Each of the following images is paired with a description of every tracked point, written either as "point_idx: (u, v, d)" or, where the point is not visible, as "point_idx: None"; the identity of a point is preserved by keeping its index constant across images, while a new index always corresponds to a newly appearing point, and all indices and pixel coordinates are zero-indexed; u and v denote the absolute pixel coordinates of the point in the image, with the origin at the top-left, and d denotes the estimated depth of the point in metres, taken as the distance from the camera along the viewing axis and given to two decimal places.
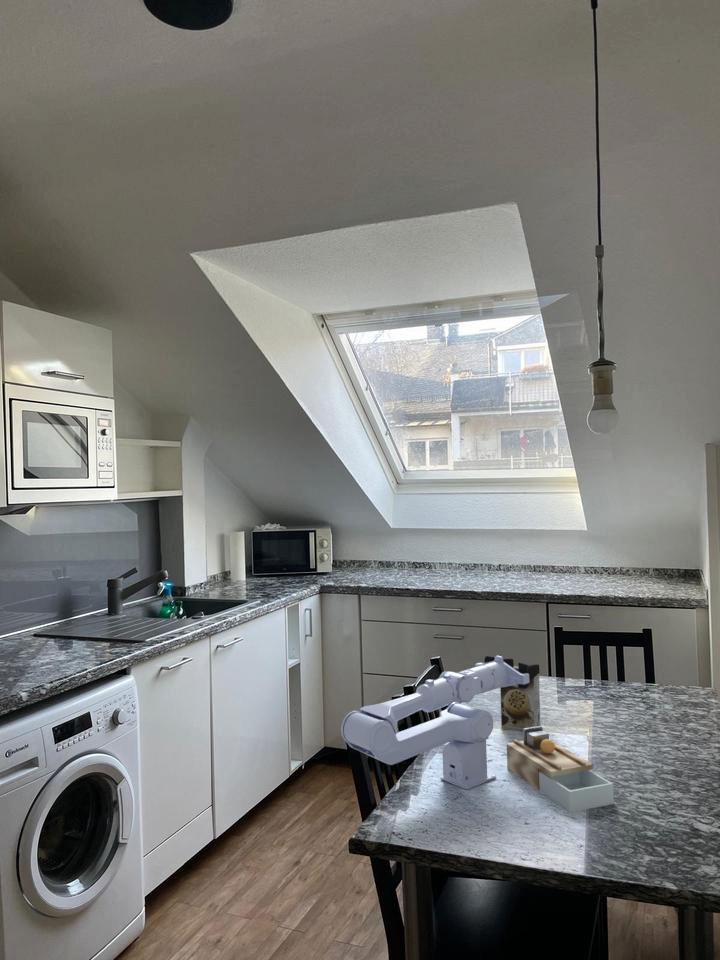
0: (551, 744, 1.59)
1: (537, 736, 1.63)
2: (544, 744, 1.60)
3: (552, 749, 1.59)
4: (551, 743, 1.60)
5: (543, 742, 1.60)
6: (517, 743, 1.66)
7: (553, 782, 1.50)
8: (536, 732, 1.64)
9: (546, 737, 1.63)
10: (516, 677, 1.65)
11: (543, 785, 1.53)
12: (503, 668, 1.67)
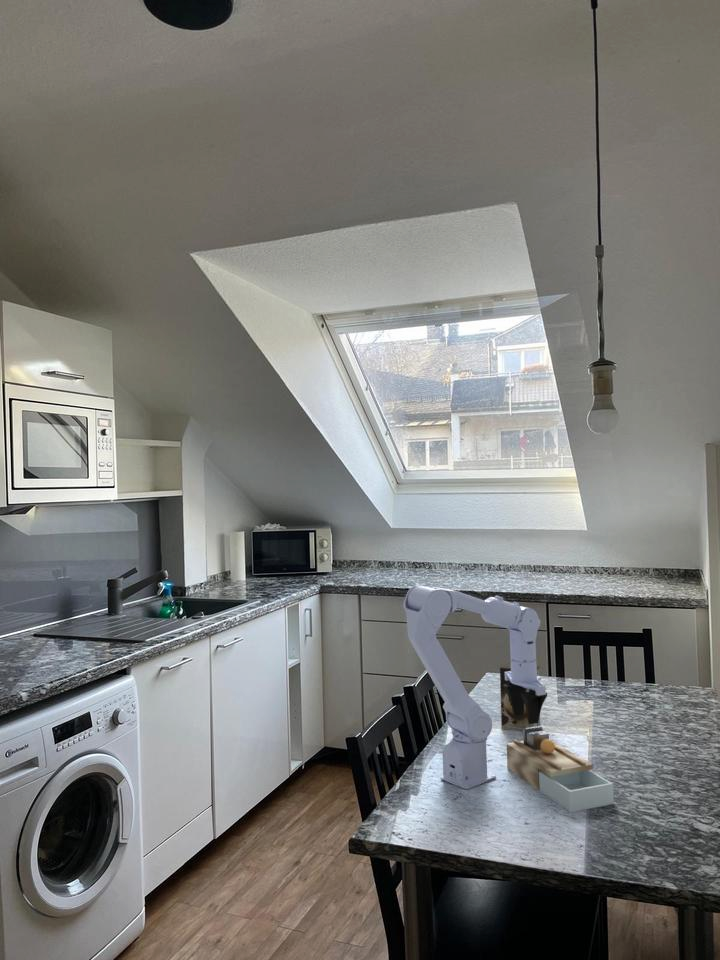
0: (551, 744, 1.59)
1: (537, 736, 1.63)
2: (544, 744, 1.60)
3: (552, 749, 1.59)
4: (551, 743, 1.60)
5: (543, 742, 1.60)
6: (517, 743, 1.66)
7: (553, 782, 1.50)
8: (536, 732, 1.64)
9: (546, 737, 1.63)
10: None
11: (543, 785, 1.53)
12: (536, 676, 1.68)
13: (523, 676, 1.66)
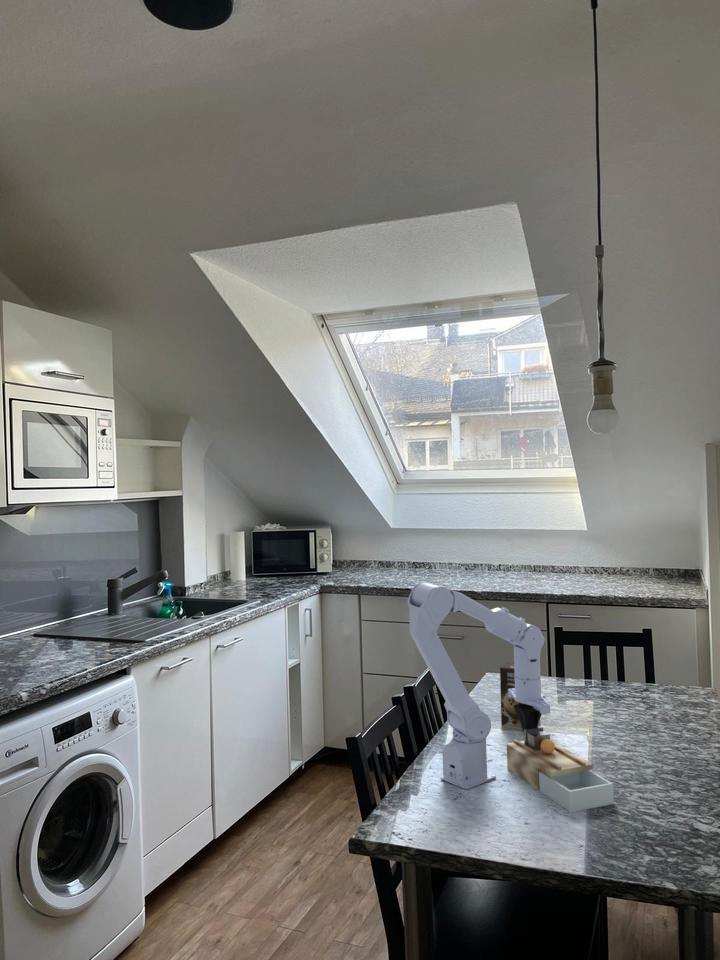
0: (551, 744, 1.59)
1: (538, 737, 1.62)
2: (544, 744, 1.60)
3: (552, 749, 1.59)
4: (551, 743, 1.60)
5: (543, 742, 1.60)
6: (517, 743, 1.66)
7: (553, 782, 1.50)
8: (537, 733, 1.64)
9: (547, 738, 1.63)
10: (541, 703, 1.63)
11: (543, 785, 1.53)
12: (540, 694, 1.66)
13: (527, 694, 1.65)
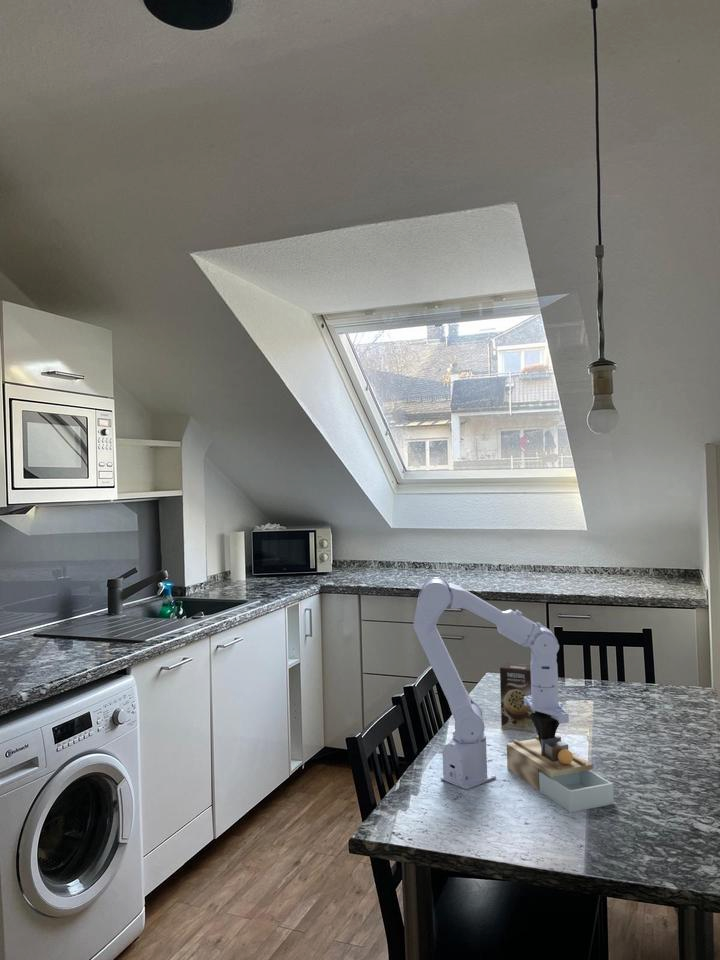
0: None
1: (555, 747, 1.56)
2: (558, 754, 1.55)
3: (565, 749, 1.54)
4: None
5: None
6: (517, 743, 1.66)
7: (553, 782, 1.50)
8: (555, 743, 1.57)
9: (565, 748, 1.56)
10: None
11: (543, 785, 1.53)
12: (558, 702, 1.59)
13: (544, 702, 1.58)
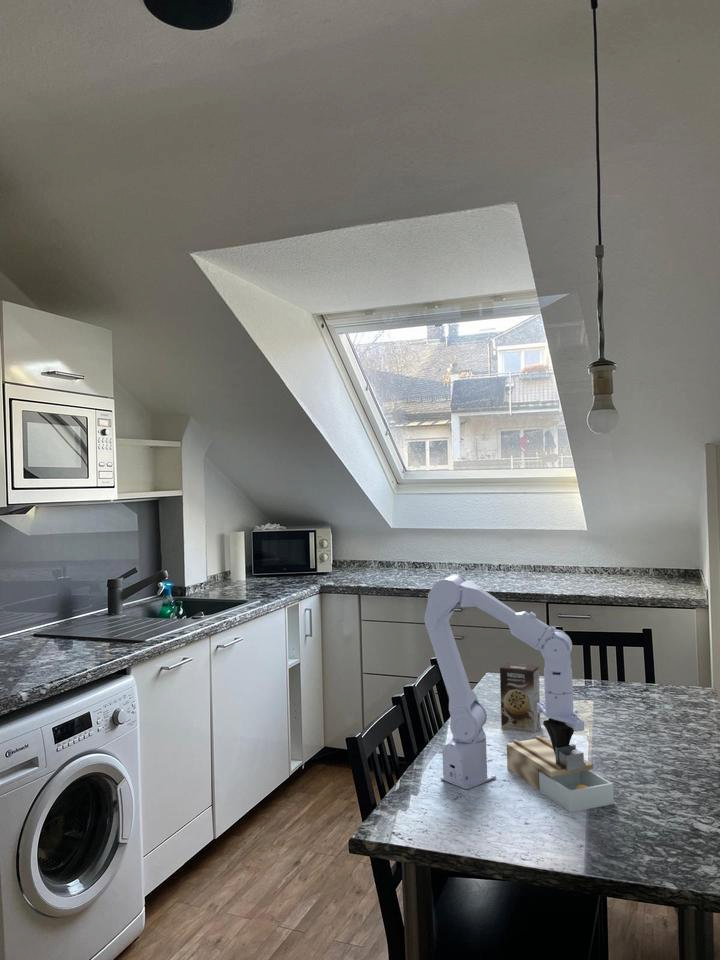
0: None
1: (570, 756, 1.51)
2: None
3: None
4: None
5: None
6: (517, 743, 1.66)
7: (553, 782, 1.50)
8: (570, 751, 1.52)
9: (580, 756, 1.51)
10: (574, 719, 1.51)
11: (543, 785, 1.53)
12: (572, 709, 1.54)
13: (559, 709, 1.53)
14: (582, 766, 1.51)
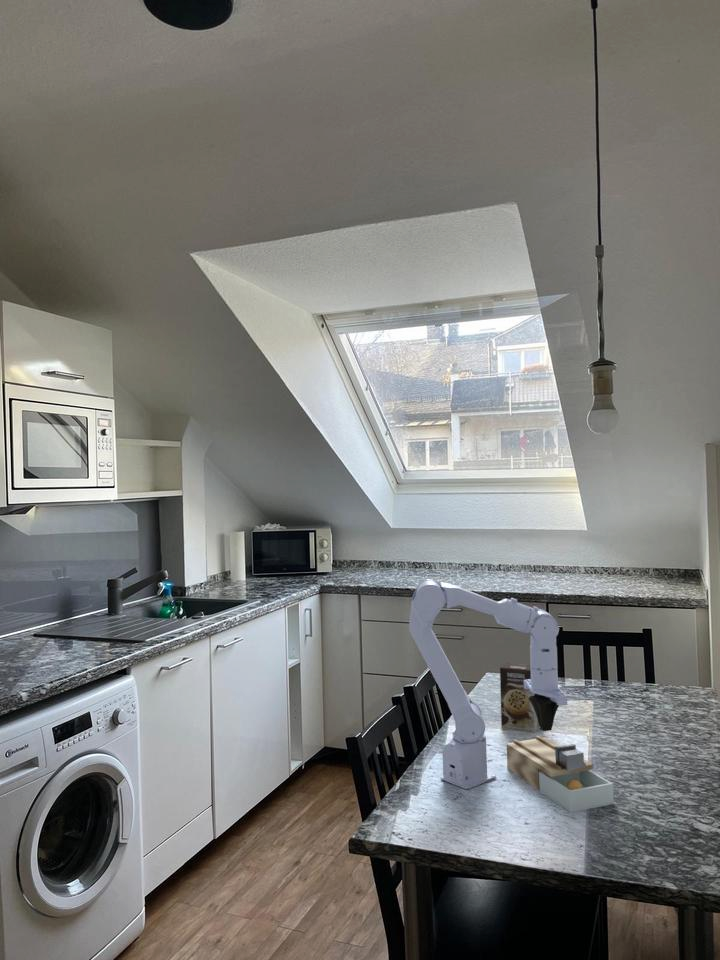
0: None
1: (570, 756, 1.51)
2: (572, 789, 1.50)
3: None
4: None
5: (572, 786, 1.50)
6: (517, 743, 1.66)
7: (553, 782, 1.50)
8: (570, 751, 1.52)
9: (580, 756, 1.51)
10: (558, 694, 1.57)
11: (543, 785, 1.53)
12: (557, 685, 1.60)
13: (544, 685, 1.59)
14: (582, 766, 1.51)
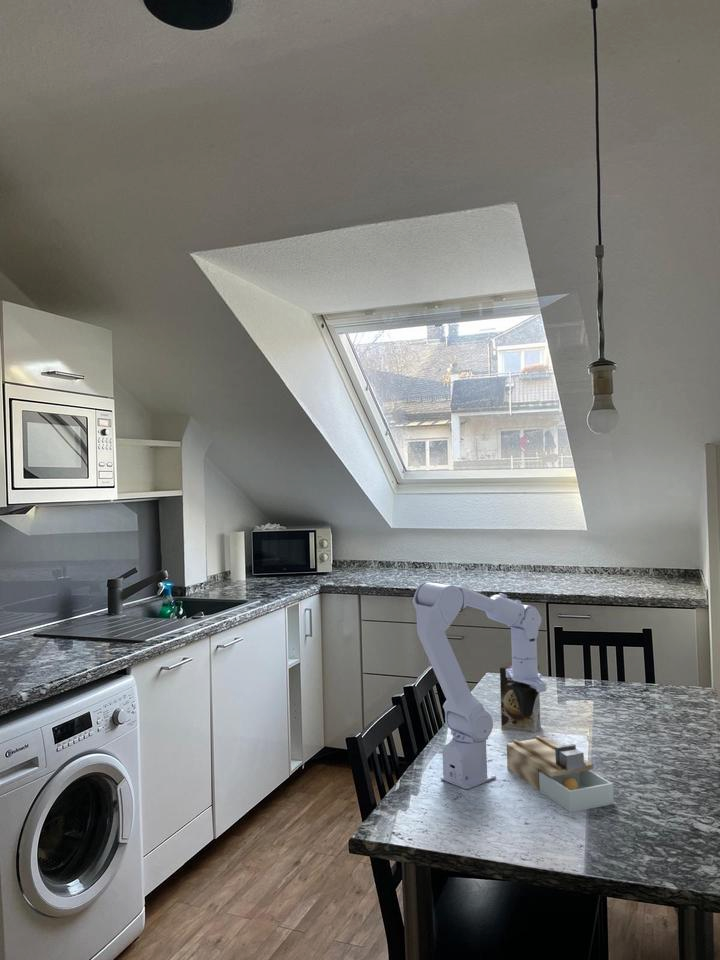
0: (574, 781, 1.52)
1: (570, 756, 1.51)
2: (566, 782, 1.52)
3: (575, 787, 1.52)
4: (574, 780, 1.52)
5: (565, 780, 1.53)
6: (517, 743, 1.66)
7: (553, 782, 1.50)
8: (570, 751, 1.52)
9: (580, 756, 1.51)
10: None
11: (543, 785, 1.53)
12: (536, 673, 1.70)
13: (524, 673, 1.69)
14: (582, 766, 1.51)
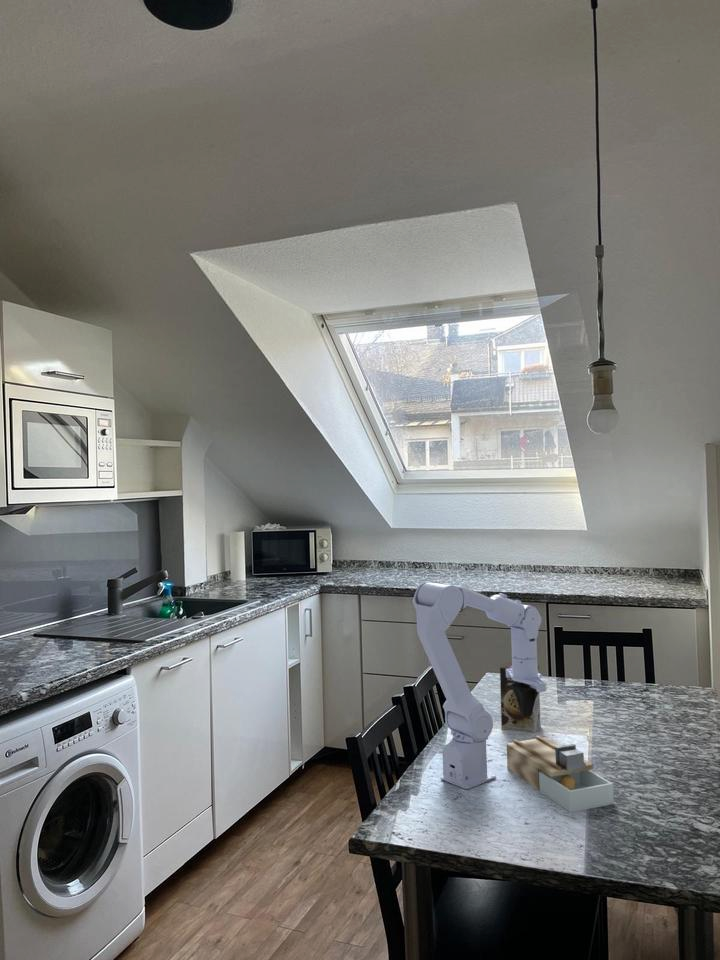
0: (569, 776, 1.53)
1: (570, 756, 1.51)
2: (562, 779, 1.53)
3: (572, 780, 1.53)
4: None
5: (561, 778, 1.54)
6: (517, 743, 1.66)
7: (553, 782, 1.50)
8: (570, 751, 1.52)
9: (580, 756, 1.51)
10: None
11: (543, 785, 1.53)
12: (536, 673, 1.70)
13: (524, 673, 1.69)
14: (582, 766, 1.51)
